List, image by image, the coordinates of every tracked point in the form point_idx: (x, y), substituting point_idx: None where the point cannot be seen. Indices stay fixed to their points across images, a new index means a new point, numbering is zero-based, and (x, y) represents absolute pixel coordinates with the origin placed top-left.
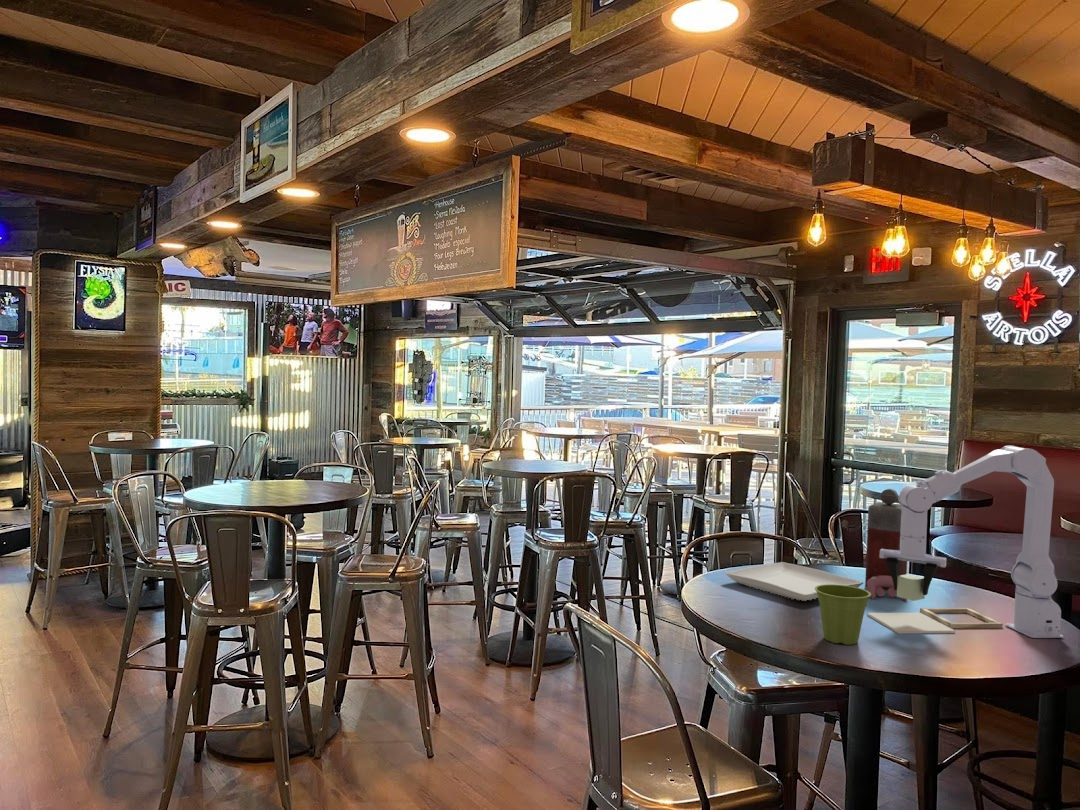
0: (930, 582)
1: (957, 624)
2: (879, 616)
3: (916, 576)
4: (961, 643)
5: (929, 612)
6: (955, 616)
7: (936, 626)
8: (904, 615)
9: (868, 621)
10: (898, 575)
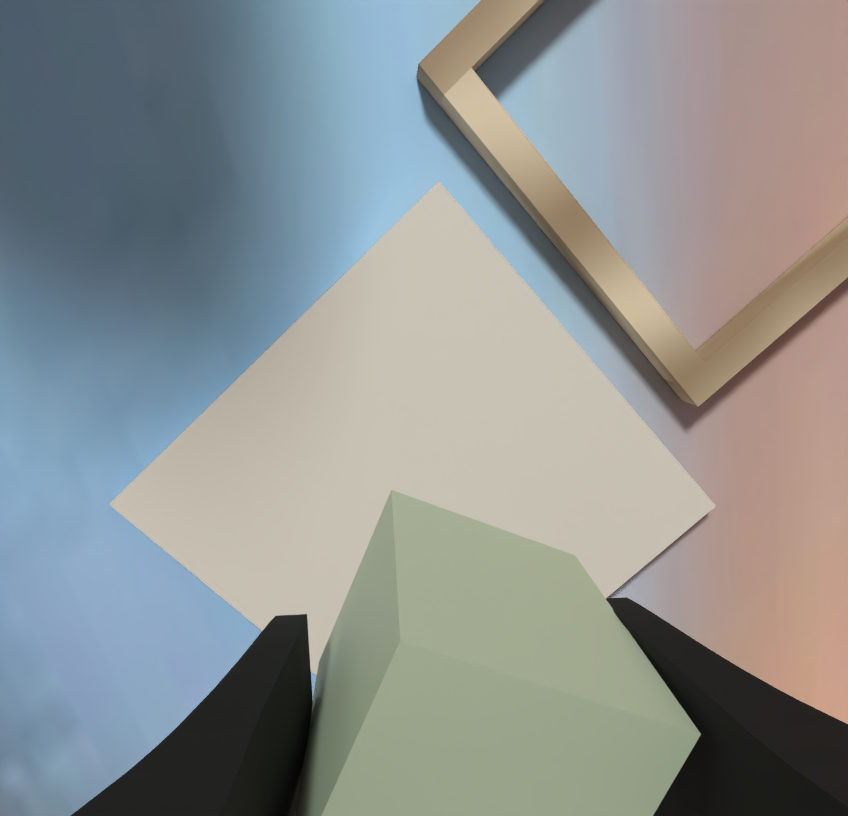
0: (738, 672)
1: (732, 376)
2: (216, 532)
3: (553, 728)
4: (746, 671)
5: (514, 171)
6: (687, 2)
7: (602, 498)
8: (356, 369)
9: (185, 631)
10: (262, 780)
